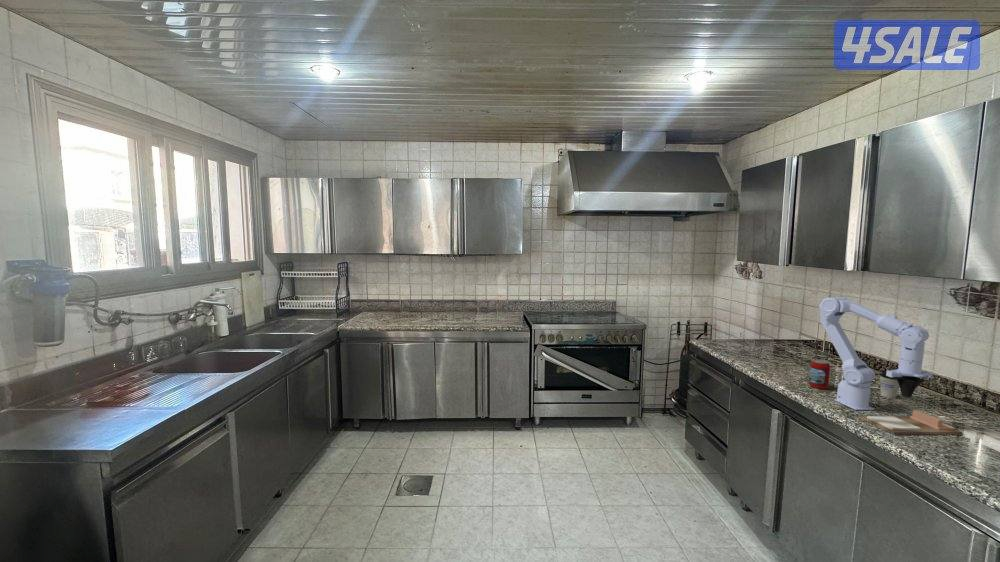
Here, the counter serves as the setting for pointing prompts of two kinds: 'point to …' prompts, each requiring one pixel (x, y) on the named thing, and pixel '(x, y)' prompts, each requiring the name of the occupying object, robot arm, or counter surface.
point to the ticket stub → (930, 420)
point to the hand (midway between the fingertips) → (906, 396)
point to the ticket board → (906, 426)
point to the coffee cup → (888, 386)
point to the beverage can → (819, 374)
